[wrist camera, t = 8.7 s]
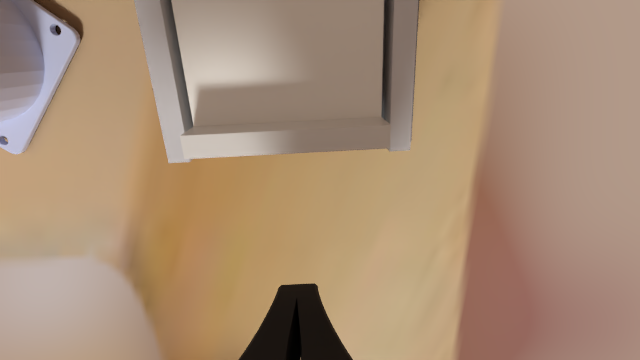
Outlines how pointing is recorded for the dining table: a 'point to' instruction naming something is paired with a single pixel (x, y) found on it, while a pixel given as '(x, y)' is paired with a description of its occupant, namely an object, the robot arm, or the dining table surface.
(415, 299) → the dining table surface
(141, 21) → the housing
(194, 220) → the dining table surface
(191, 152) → the lid
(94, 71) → the dining table surface
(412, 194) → the dining table surface
